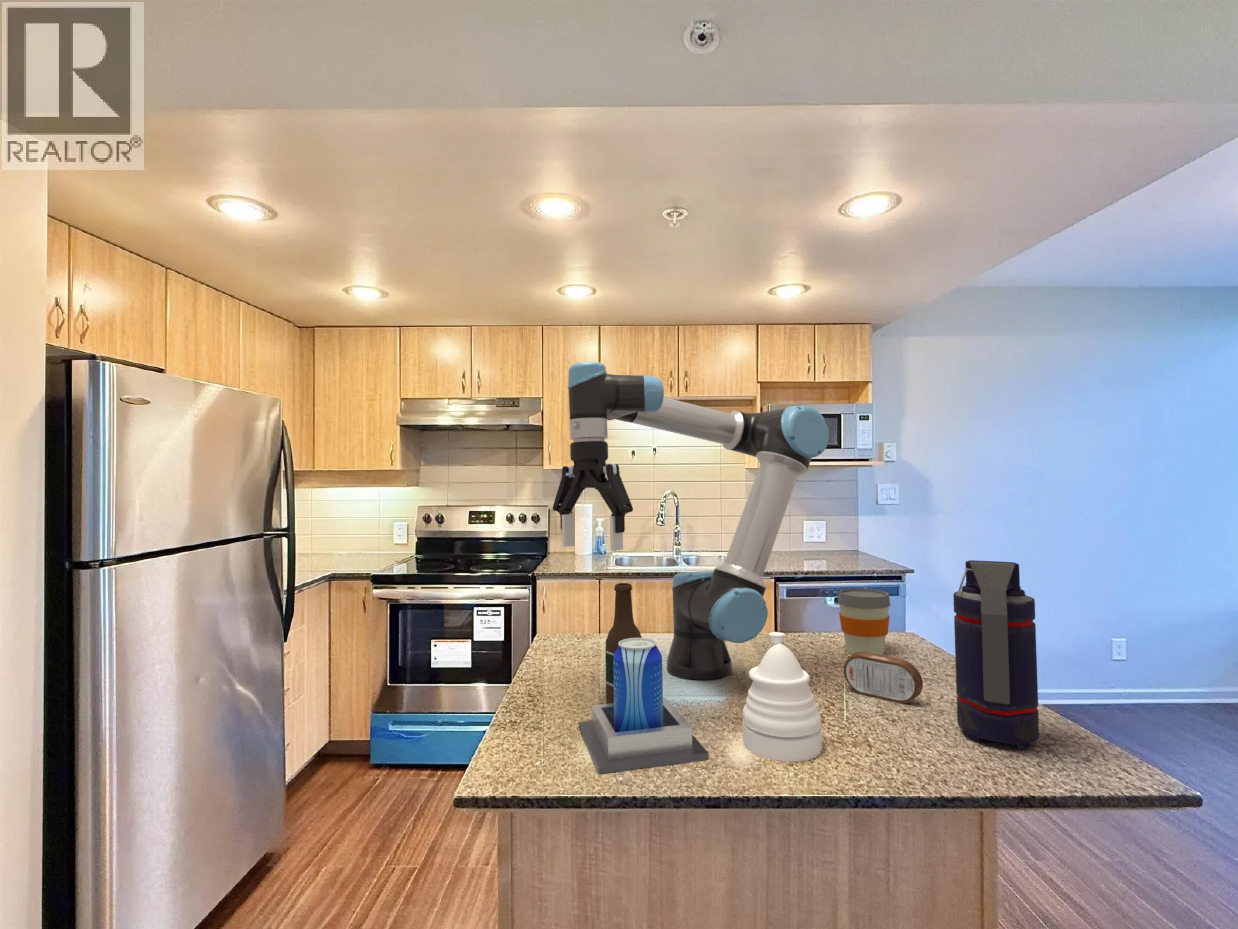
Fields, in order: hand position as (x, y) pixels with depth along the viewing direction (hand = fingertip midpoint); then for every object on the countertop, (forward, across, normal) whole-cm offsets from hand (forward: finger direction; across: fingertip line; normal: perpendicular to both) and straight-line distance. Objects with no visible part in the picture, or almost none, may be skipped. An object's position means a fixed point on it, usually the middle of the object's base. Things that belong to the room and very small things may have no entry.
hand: (591, 548), depth 119 cm
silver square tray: (+32, +16, -6) cm, 36 cm away
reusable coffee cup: (+33, +25, +72) cm, 83 cm away
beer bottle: (+32, +2, +6) cm, 32 cm away
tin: (+33, +40, +42) cm, 66 cm away
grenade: (+33, +62, +35) cm, 78 cm away
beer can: (+31, +16, -6) cm, 35 cm away
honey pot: (+32, +35, +9) cm, 48 cm away
